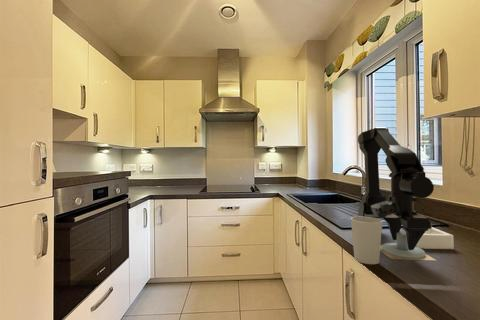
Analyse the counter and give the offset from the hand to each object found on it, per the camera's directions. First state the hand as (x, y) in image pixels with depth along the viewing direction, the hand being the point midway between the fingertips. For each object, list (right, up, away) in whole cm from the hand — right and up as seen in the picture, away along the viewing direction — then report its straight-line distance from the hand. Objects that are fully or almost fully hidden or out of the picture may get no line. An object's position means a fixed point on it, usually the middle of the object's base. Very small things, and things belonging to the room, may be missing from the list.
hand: (402, 244), depth 78 cm
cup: (-14, -3, -6) cm, 15 cm away
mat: (0, -3, 0) cm, 3 cm away
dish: (+13, -3, +8) cm, 15 cm away
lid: (0, -2, 0) cm, 2 cm away
